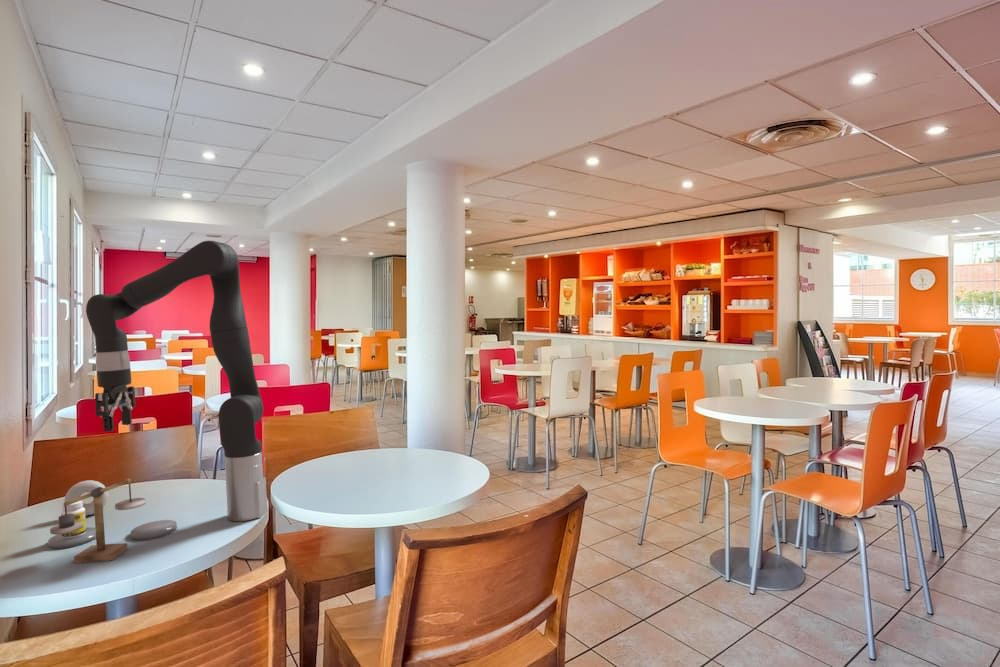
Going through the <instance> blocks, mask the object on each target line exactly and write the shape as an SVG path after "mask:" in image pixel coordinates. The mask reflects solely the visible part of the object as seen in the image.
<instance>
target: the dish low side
mask: <svg viewBox="0 0 1000 667" xmlns="http://www.w3.org/2000/svg"><path fill="white" fill-rule="evenodd" d="M95 538H96V528H95V527H86V533H85V534H84V535H82V536H79V537H76V538H71V539H64V538H63V537H62V534H54V535H53V536H52V537H50V538H49V539H48V543H47V544H48V548H49V549H52V550H53V549H54V550H61V549H63V550H64V549H69V548H74V546H75V547H78V545H79V546H81V545H85V544H88V543H90V542H92V540H93V541H94V540H96V539H95Z"/></svg>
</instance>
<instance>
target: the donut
mask: <svg viewBox="0 0 1000 667" xmlns="http://www.w3.org/2000/svg"><path fill="white" fill-rule="evenodd" d="M98 487H102V488H105V487H106V486H105V485H104V484H103V483H101V482H100V481H97V480H92V479H91V480H90V479H89V480H88V479H87V480H83V481H79V482H77V483H75V484H73V485H72V486H71V487H70V488H69V489H68V490H67V492H66V494H65V496H64V502H63V503H65V502H67V501H70V500H73V499H75V498H78V497H81V496H83V494H85V493H87V494H89V493H91V491H92V490H94V489H96V488H98ZM108 501H109V490H108V491H106V492H104V494H103V495H102V502H103V508H104V507H105V506H106V505H107V502H108ZM82 507H83V508H85V517H87V516H88V515H89V516H91V515H95V513H94V499H93V500H92V501H91V502H89V503H84V502H83V506H82ZM89 516H88V517H89Z"/></svg>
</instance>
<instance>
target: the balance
mask: <svg viewBox="0 0 1000 667" xmlns="http://www.w3.org/2000/svg"><path fill="white" fill-rule="evenodd" d="M131 482H132V479H131V478H127V479H125V480H122V481H119V482H117V483H113V484H112V485H108V486H105V488H102V487H98V488H96V489H94V490H92V491H91V493H87V494H84V495H81V496H80V497H78V498H75V499H73V500H70V501H67V502H63V503H62V505H63V504H64V507H65V515H62V516H61V515H59V516H58V524H56V525H54V526H52V527H51V528H50V529H49V531H50V534H51V535H58V534H64V533H69V532H73V531H76V530H78V529H80V528H82V527H83V522H82V521H74V514H67V507H66V506H67V505H70V504H73V503H76V502H78V501H81V500H82V501H83V500H86V499H89V498H93V500H94V513H95V514H94V525H95V526H94V528H96V539H95V541H96V542H95V543H96V544H94V545H92V544H91V545H90V546H88V547H87V548H84V550H82V551H80V552H79V553H77V554H75V555H74V557H73V560H74V562H73V563H74V564H81V563H82V562H84V563H95V561H99V562H107V561H106V560H112V561H114V560H115V559H116V558H117V557H119V556H120V555H122V554H123V553H124V552H126V551H127V550H128V543H127V542H122V543H109V544H106V538H105V521H104V507H103V502H102V495H103V494H104V492H106V491H108V492H109V491H111V490H114V489H117V488H118V487H121V486H124V485H127V484H128V492H129V493H128V494H129V498H128V499H124V500H121V501H119V502H117V503H115V505H114V508H115V510H116V511H127V510H133V509H137V508H140V507H143V506H144V505H146V504H147V499H146V498H145V497H134V498H132V488H131ZM121 553H122V554H121ZM118 555H119V556H118ZM114 558H115V559H114Z"/></svg>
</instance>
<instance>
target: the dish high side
mask: <svg viewBox="0 0 1000 667" xmlns="http://www.w3.org/2000/svg"><path fill="white" fill-rule="evenodd" d="M177 526H178V522H177V521H176V520H172V519H163V520H155V521H150V522H145V523H143V524H141V525H137V526H136V527H134V528H133V529H132V530H131V531H130V538H131V539H132V540H134V541H148V540H149V541H150V540H154V539H155V540H156V539H159V538H162V536H163V537H165V536H168V535H170V534H172V533H174V532H175V531H176V530H177V529H178V527H177ZM176 528H177V529H176ZM173 531H174V532H173ZM171 532H172V533H171ZM167 534H168V535H167ZM158 537H159V538H158Z"/></svg>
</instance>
